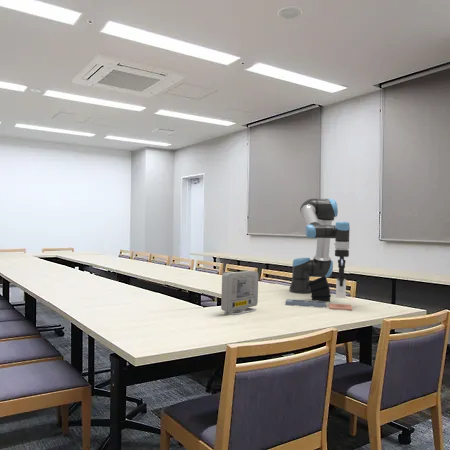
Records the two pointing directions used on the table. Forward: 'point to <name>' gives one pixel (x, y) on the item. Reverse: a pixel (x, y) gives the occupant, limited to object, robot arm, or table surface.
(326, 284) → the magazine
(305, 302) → the power strip
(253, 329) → the table surface
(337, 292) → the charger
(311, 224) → the robot arm
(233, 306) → the network device
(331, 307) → the mat
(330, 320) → the table surface
